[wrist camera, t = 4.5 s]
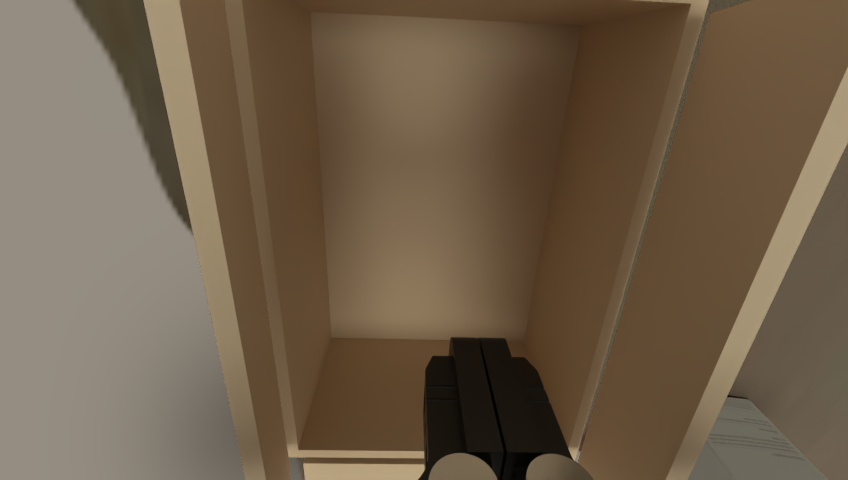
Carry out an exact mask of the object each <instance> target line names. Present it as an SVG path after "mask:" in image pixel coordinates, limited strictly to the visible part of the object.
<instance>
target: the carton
mask: <svg viewBox="0 0 848 480" xmlns="http://www.w3.org/2000/svg"><path fill="white" fill-rule="evenodd" d="M708 2H709V0H224V3H225V10H226V17H227V24H228V31H229V38H230V45H231V52H232V60H233V67H234V74H235V81H236V88H237V95H238V102H239V109H240V116H241V123H242V130H243V137H244V145H245V152H246V159H247V166H248V173H249V180H250V187H251V194H252V201H253V208H254V215H255V223H256V230H257V237H258V244H259V251H260V258H261V265H262V272H263V279H264V286H265V293H266V300H267V308H268V315H269V322H270V329H271V336H272V343H273V350H274V357H275V364H276V371H277V378H278V385H279V393H280V400H281V407H282V414H283V421H284V428H285V435H286V442H287V449H288V456H289V457H305V459H304V463H303V465H304V473H305V480H418V479H419V478H420V476H421V475H422V474H423V472H424V470H425V467H424V428H423V402H424V384H425V369H426V367H427V365H428V363H429V361H430V360H431V358H432V356H449V345H450V338H451V337H476V338H479V337H483V338H505V339H506V341H507V344H508V347H509V350H510V353H511V356H512V357H525V358H526V359H527V360H528V361H529V362H530V363H531V364H532V366H533V367H534V368H535V369H536V370H537V371H538V373H539V376H540V378H541V381H542V383H543V386H544V390H545V391H546V393H547V396H548V398H549V403H551V406H552V408H553V411H554V414H555V416H556V419H557V421H558V424H559V426H560V429H561V431H562V434H563V436H564V439H565V441H566V444H567V446H568V449H569V451H570V454H571V456H572V458H573V460H575V459H576V456H577V452H578V449H579V445H580V442H581V439H582V435H583V432H584V428H585V425H586V421H587V418H588V415H589V411H590V408H591V404H592V401H593V397H594V394H595V390H596V387H597V384H598V380H599V377H600V373H601V370H602V366H603V363H604V360H605V356H606V353H607V349H608V346H609V342H610V339H611V336H612V332H613V329H614V325H615V322H616V318H617V315H618V311H619V308H620V305H621V301H622V298H623V294H624V291H625V287H626V284H627V281H628V277H629V274H630V270H631V267H632V263H633V260H634V257H635V253H636V250H637V246H638V243H639V239H640V236H641V232H642V229H643V226H644V222H645V219H646V215H647V212H648V208H649V205H650V202H651V198H652V195H653V191H654V188H655V184H656V181H657V178H658V174H659V171H660V167H661V164H662V160H663V157H664V153H665V150H666V147H667V143H668V140H669V136H670V133H671V129H672V126H673V123H674V119H675V116H676V112H677V109H678V105H679V102H680V99H681V95H682V92H683V88H684V85H685V81H686V78H687V74H688V71H689V68H690V64H691V61H692V57H693V54H694V50H695V47H696V44H697V40H698V37H699V33H700V30H701V26H702V23H703V20H704V16H705V13H706V9H707V6H708Z"/></svg>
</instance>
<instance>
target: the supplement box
mask: <svg viewBox="0 0 848 480" xmlns="http://www.w3.org/2000/svg"><path fill="white" fill-rule="evenodd" d="M688 480H828V479H827V478H826V477H825V476H824V475H823V474H822V473H821V472H820V471H819V470H818V469H817V468H816V467H815V466H814V465H813V464H812V463H811V462H810V461H809V460H808V459H807V458H806V457H805V456H804V455H803V454H802V453H801V452H800V451H799V450H798V449H797V448H796V447H795V446H794V445H793V444H792V443H791V442H790V441H789V440H788V439H787V438H786V437H785V436H784V435H783V434H782V433H781V432H780V430H779V429H778V428H777V427H776V426H775V425H774V424H773V423H772V422H771V421H770V420H769V419H768V418H767V417H766V416H765V415H764V414H763V413H762V412H761V411H760V410H759V409H758V408H757V407H756V406H755V405H754V404H753V403H752V402H751V401H750V400H748V399H741V398H732V397H726V400H725V402H724V404H723V406H722V408H721V410H720V412H719V414H718V416H717V418H716V421H715V423H714V425H713V427H712V429H711V431H710V433H709V435H708V437H707V440H706V442H705V444H704V446H703V448H702V450H701V452H700V454H699V456H698V458H697V461H696V463H695V465H694V467H693V469H692V471H691V473H690V475H689V477H688Z"/></svg>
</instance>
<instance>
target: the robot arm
mask: <svg viewBox="0 0 848 480" xmlns="http://www.w3.org/2000/svg"><path fill="white" fill-rule="evenodd" d="M423 428H424V467H425V470H424V472H423V474H422V475H421V476H420V478H419V479H418V480H593V478H592V476H591V475H590V474H589V473H588V471H586V470H585V469H584V468H583V467H582V466H581V465H580V464H578V463H577V462H575V461H574V460H573V458H572V456H571V454H570V451H569V449H568V446H567V444H566V441H565V439H564V436H563V434H562V431H561V429H560V426H559V424H558V421H557V419H556V416H555V414H554V411H553V408H552V406H551V403H549V398H548V396H547V393H546V391H545V390H544V386H543V383H542V381H541V378H540V376H539V373H538V371H537V370H536V369H535V368H534V367H533V366H532V364H531V363H530V362H529V361H528V360H527V359H526V358H525V357H512V356H511V353H510V350H509V347H508V344H507V341H506V339H505V338H483V337H479V338H476V337H451V338H450V345H449V356H432V358H431V360H430V361H429V363H428V365H427V367H426V369H425V384H424V402H423Z"/></svg>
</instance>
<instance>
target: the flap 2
mask: <svg viewBox="0 0 848 480" xmlns="http://www.w3.org/2000/svg"><path fill="white" fill-rule="evenodd" d="M847 142H848V0H750V1H747V2H744V3H741V4H738V5H735V6H732V7H729V8H726V9H723V10H720V11H717V12H714V13H711V14H710V17H709V21H708V24H707V27H706V31H705V34H704V37H703V41H702V44H701V48H700V51H699V54H698V58H697V61H696V64H695V68H694V71H693V75H692V78H691V81H690V85H689V88H688V91H687V95H686V98H685V102H684V105H683V108H682V112H681V115H680V119H679V122H678V125H677V129H676V132H675V135H674V139H673V142H672V146H671V149H670V152H669V156H668V159H667V162H666V166H665V169H664V173H663V176H662V179H661V183H660V186H659V189H658V193H657V196H656V200H655V203H654V206H653V210H652V213H651V216H650V220H649V223H648V227H647V230H646V233H645V237H644V240H643V244H642V247H641V250H640V254H639V257H638V260H637V264H636V267H635V271H634V274H633V277H632V281H631V284H630V287H629V291H628V294H627V298H626V301H625V304H624V308H623V311H622V314H621V318H620V321H619V325H618V328H617V331H616V335H615V338H614V342H613V345H612V348H611V352H610V355H609V358H608V362H607V365H606V369H605V372H604V375H603V379H602V382H601V385H600V389H599V392H598V396H597V399H596V402H595V406H594V409H593V412H592V416H591V419H590V423H589V426H588V429H587V433H586V436H585V440H584V443H583V446H582V450H581V453H580V457H579V460H578V462H579V464H580V465H581V466H582V467H583V468H584V469H585V470H586V471H588V473H589V474H590V475H591V476H592V478H593V480H688V477H689V475H690V473H691V471H692V469H693V467H694V465H695V463H696V461H697V458H698V456H699V454H700V452H701V450H702V448H703V446H704V444H705V442H706V440H707V437H708V435H709V433H710V431H711V429H712V427H713V425H714V423H715V421H716V418H717V416H718V414H719V412H720V410H721V408H722V406H723V404H724V402H725V400H726V397H727V395H728V393H729V391H730V389H731V387H732V385H733V383H734V381H735V378H736V376H737V374H738V372H739V370H740V368H741V366H742V364H743V362H744V359H745V357H746V355H747V353H748V351H749V349H750V347H751V345H752V343H753V341H754V338H755V336H756V334H757V332H758V330H759V328H760V326H761V324H762V322H763V319H764V317H765V315H766V313H767V311H768V309H769V307H770V305H771V303H772V300H773V298H774V296H775V294H776V292H777V290H778V288H779V286H780V284H781V282H782V279H783V277H784V275H785V273H786V271H787V269H788V267H789V265H790V263H791V260H792V258H793V256H794V254H795V252H796V250H797V248H798V246H799V244H800V242H801V239H802V237H803V235H804V233H805V231H806V229H807V227H808V225H809V223H810V220H811V218H812V216H813V214H814V212H815V210H816V208H817V206H818V204H819V201H820V199H821V197H822V195H823V193H824V191H825V189H826V187H827V185H828V183H829V180H830V178H831V176H832V174H833V172H834V170H835V168H836V166H837V164H838V161H839V159H840V157H841V155H842V153H843V151H844V149H845V147H846V145H847Z"/></svg>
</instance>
